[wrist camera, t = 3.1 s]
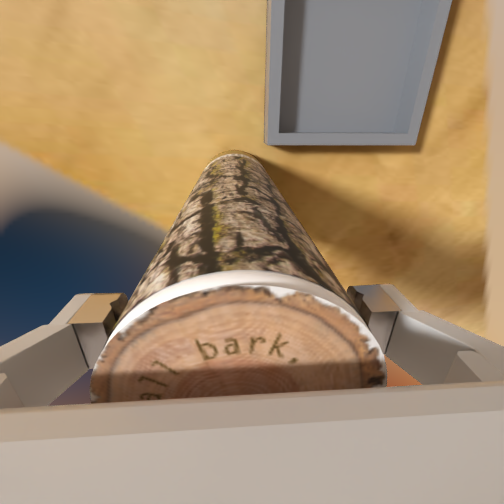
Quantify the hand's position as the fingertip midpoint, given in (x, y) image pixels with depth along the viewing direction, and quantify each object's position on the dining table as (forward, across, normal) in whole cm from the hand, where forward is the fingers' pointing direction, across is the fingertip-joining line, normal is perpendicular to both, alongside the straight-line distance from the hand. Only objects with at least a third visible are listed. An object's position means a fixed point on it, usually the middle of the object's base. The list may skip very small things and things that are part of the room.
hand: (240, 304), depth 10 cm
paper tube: (+21, 0, 0) cm, 21 cm away
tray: (+21, -10, -11) cm, 26 cm away
